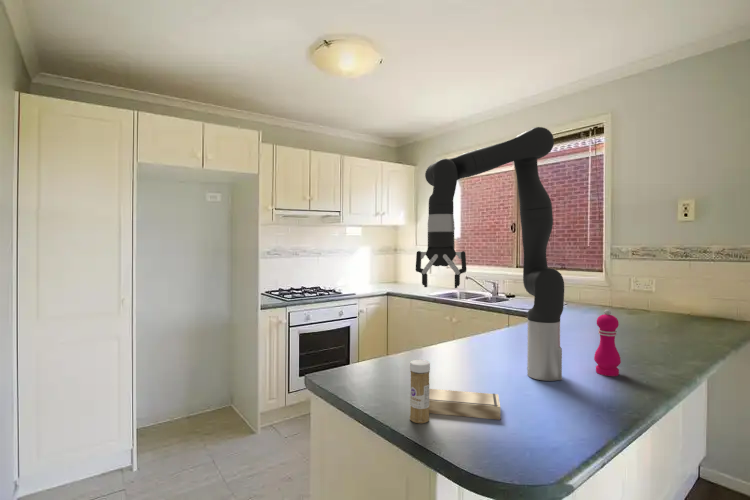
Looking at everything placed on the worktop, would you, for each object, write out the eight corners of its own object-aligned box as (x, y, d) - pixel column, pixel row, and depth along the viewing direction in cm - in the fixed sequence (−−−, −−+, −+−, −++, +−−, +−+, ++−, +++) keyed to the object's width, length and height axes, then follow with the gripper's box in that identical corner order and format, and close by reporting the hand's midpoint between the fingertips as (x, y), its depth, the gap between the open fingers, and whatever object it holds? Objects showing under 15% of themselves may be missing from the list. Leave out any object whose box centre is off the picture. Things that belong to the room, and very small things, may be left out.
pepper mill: (619, 371, 128) (619, 308, 128) (622, 378, 122) (622, 312, 122) (593, 368, 131) (593, 307, 131) (594, 375, 125) (595, 310, 125)
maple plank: (498, 406, 101) (498, 393, 101) (500, 419, 93) (500, 406, 93) (418, 399, 105) (418, 387, 105) (413, 411, 97) (413, 398, 97)
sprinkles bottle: (406, 420, 93) (406, 362, 92) (417, 414, 96) (417, 357, 96) (422, 426, 90) (422, 365, 89) (433, 419, 93) (433, 361, 93)
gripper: (414, 230, 113) (414, 288, 113) (466, 230, 110) (466, 289, 110) (417, 231, 121) (417, 285, 121) (466, 231, 117) (466, 286, 117)
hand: (440, 287), depth 115 cm, fingers open, 8 cm apart
